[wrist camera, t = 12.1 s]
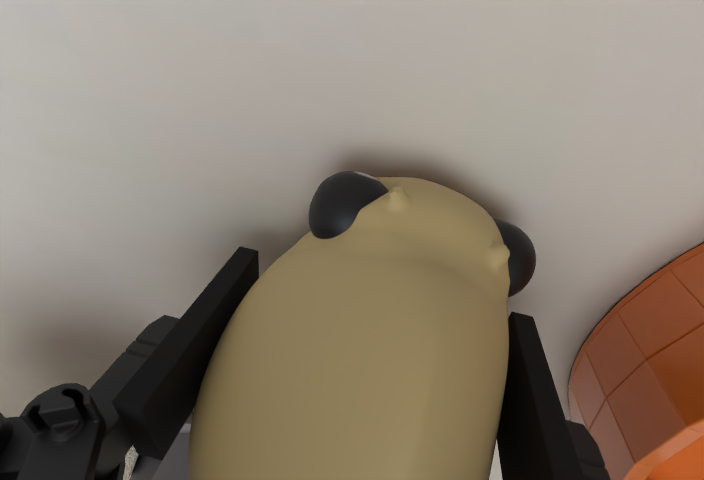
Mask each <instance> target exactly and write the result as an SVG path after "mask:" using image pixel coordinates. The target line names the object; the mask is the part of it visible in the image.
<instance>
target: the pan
mask: <svg viewBox="0 0 704 480" xmlns="http://www.w3.org/2000/svg"><path fill="white" fill-rule="evenodd" d="M568 402H569V406H570V414H571V417H572V420H573V422H576V423H580V424H583V425H584V426H585V427H586V428H587V430H588V431H589V433H590V434H591V436H592V437H593V438H594V440H595V441H596V443H597V444H598V447H599V449H600V452H601V455H602V457H603V460H604V463H605V469H607V471H608V474H609V476H610V479H611V480H704V243H703V244H701V245H699V246H698V247H696V248H694V249H692V250H690V251H689V252H687V253H685V254H683V255H682V256H680V257H679V258H677V259H676V260H674V261H673V262H671V263H670V264H668V265H667V266H665V267H664V268H662V269H661V270H659V271H658V272H656V273H655V274H653V275H652V276H650V277H649V278H647V279H646V280H645V281H644V282H642V283H641V284H640V285H639V286H638V287H636V288H635V289H634V290H633V291H632V292H630V293H629V294H628V295H627V296H626V297H624V298H623V299H622V300H621V301H620V302H618V303H617V304H616V305H615V306H614V307H613V309H612V310H611V311H610V312H609V313H608V314H607V315H606V316H605V317H604V318H603V319H602V320H601V321H600V322H599V323H598V324H597V326H596V327H595V328H594V330H593V331H592V333H591V334H590V335H589V337H588V338H587V340H586V341H585V343H584V344H583V345H582V347H581V349H580V351H579V354H578V356H577V358H576V360H575V362H574V364H573V367H572V371H571V375H570V380H569V384H568Z"/></svg>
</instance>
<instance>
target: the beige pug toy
mask: <svg viewBox="0 0 704 480" xmlns="http://www.w3.org/2000/svg"><path fill="white" fill-rule="evenodd" d="M309 224H310V229H311V231H309V232H308V233H307V234H306V235H304V236H303V237H302V238H301V239H300V240H299V241H298V242H297V243H296V244H295V245H294V246H293V247H292V248H290V249H289V250H288V251H287V252H286V253H284V254H283V255H282V256H281V257H279V258H278V259H277V260H276V261H275V262H274V263H273V264H272V265H271V266H269V267H268V269H267V270H266V271H265V272H264V273H263V274H262V275H261V276H260V277H259V278H258V280H257V281H256V282H255V283H254V285H253V286H252V287H251V288H250V290H249V291H248V293H247V294H246V295H245V297H244V298H243V300H242V301H241V303H240V304H239V306H238V307H237V309H236V310H235V312H234V314H233V315H232V317H231V319H230V320H229V322H228V324H227V326H226V328H225V329H224V331H223V333H222V335H221V337H220V339H219V341H218V343H217V346H216V348H215V350H214V352H213V354H212V357H211V359H210V362H209V364H208V367H207V369H206V372H205V375H204V377H203V380H202V383H201V387H200V390H199V393H198V397H197V400H196V404H195V408H194V413H193V417H192V423H191V429H190V436H189V446H188V475H189V480H489V476H490V471H491V466H492V460H493V455H494V449H495V444H496V439H497V433H498V427H499V422H500V416H501V410H502V404H503V397H504V391H505V384H506V376H507V367H508V354H509V331H508V310H507V299H508V297H510V296H513V295H515V294H517V293H518V292H520V291H521V290H522V289H523V288H524V287H525V286H526V285H527V284H528V282H529V281H530V279H531V277H532V275H533V273H534V270H535V265H536V254H535V250H534V246H533V244H532V242H531V240H530V239H529V237H528V236H527V235H526V234H525V233H524V232H523V231H522V230H521V229H519V228H518V227H516V226H514V225H513V224H510V223H508V222H505V221H500V220H493V219H492V217H491V216H490V215H489V214H488V212H487V211H486V210H485V209H483V208H482V207H481V206H480V205H478V204H477V203H476V202H474V201H473V200H471V199H469V198H468V197H466V196H464V195H462V194H460V193H458V192H456V191H454V190H452V189H450V188H447V187H445V186H442V185H440V184H437V183H434V182H431V181H427V180H424V179H419V178H412V177H372V176H370V175H368V174H365V173H361V172H355V171H347V172H341V173H338V174H335V175H333V176H331V177H329V178H327V179H326V180H324V181H323V182H322V183H321V184H320V186H319V187H318V189H317V191H316V193H315V195H314V197H313V199H312V202H311V205H310V210H309Z"/></svg>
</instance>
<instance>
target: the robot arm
mask: <svg viewBox="0 0 704 480" xmlns="http://www.w3.org/2000/svg"><path fill="white" fill-rule="evenodd" d="M258 278H259V265H258V251H257V250H253V249H248V248H244V247H239V248H238V249H237V251H236V252H235V253H234V254H233V255H232V257H231V258H230V259H229V260H228V261H227V263H226V264H225V265H224V266H223V268H222V269H221V270H220V271H219V272H218V274H217V275H216V276H215V277H214V278H213V280H212V281H211V282H210V283H209V284H208V286H207V287H206V288H205V289H204V291H203V292H202V293H201V294H200V295H199V297H198V298H197V299H196V300H195V301H194V303H193V304H192V305H191V306H190V308H189V309H188V310H187V311H186V312H185V314H184V315H183V316H182V317H181V318H180V319H178V318H174V317H170V316H167V315H164V316H162V317H160V318H159V319H157V320H156V321H154V322H152V323H151V324H149V325H148V326H147V327H146V328H145V329H144V330H143V331H142V332H141V334H140V335H139V336H138V337H137V338H136V341H133V342H132V343H131V345H130V346H129V347H128V348H127V349H126V352H123V353H122V354H121V356H120V357H119V358H118V359H117V360H116V361H115V362H114V363H113V364H112V365H111V367H110V368H109V369H108V370H107V371H106V372H105V373H104V374H103V375H102V376H101V378H100V379H99V380H98V381H97V382H96V383H95V384H94V385H93V386H92V387H91V389H90V390H89V391H88V390H87V388H86V387H85V386H82V385H79V384H77V383H74V384H62V385H59V386H56V387H53V388H50V389H49V390H47V391H45V392H43V393H41V394H40V395H38V396H37V397H36V398H35V399H34V400H32V401H31V402H30V403H29V404H28V405H27V406H26V408H25V409H24V411H23V412H22V414H21V415H20V417H10V418H5V417H4V416H3V415H2V414H1V413H0V480H123V475H124V469H125V455H126V454H127V452H128V451H129V449H130V448H131V446H132V445H133V446H134V448H135V450H136V452H137V453H138V454H137V456H136V458H135V460H134V463H133V465H132V468H131V471H130V474H131V473H132V474H131V477H130V480H189V475H188V446H189V436H190V429H191V423H192V417H193V413H194V412H192V411H193V409H194V407H195V404H196V400H197V397H198V393H199V390H200V387H201V383H202V380H203V377H204V375H205V372H206V369H207V367H208V364H209V362H210V359H211V357H212V354H213V352H214V350H215V348H216V346H217V343H218V341H219V339H220V337H221V335H222V333H223V331H224V329H225V328H226V326H227V324H228V322H229V320H230V319H231V317H232V315H233V314H234V312H235V310H236V309H237V307H238V306H239V304H240V303H241V301H242V300H243V298H244V297H245V295H246V294H247V293H248V291H249V290H250V288H251V287H252V286H253V285H254V283H255V282H256V281H257V280H258ZM508 331H509V354H508V367H507V376H506V384H505V391H504V397H503V404H502V410H501V416H500V422H499V427H498V433H497V443H498V450H499V457H500V464H501V471H502V478H503V480H611V479H610V476H609V474H608V471H607V469H605V463H604V460H603V457H602V455H601V452H600V449H599V447H598V444H597V443H596V441H595V440H594V438H593V437H592V436H591V434H590V433H589V431H588V430H587V428H586V427H585V426H584V425H583V424H580V423H576V422H572V421H568V420H565V416H564V413H563V410H562V407H561V404H560V401H559V397H558V394H557V391H556V388H555V385H554V382H553V379H552V375H551V372H550V369H549V366H548V363H547V360H546V357H545V353H544V350H543V347H542V344H541V341H540V338H539V334H538V331H537V328H536V325H535V322H534V319H533V317H531V316H527V315H523V314H519V313H515V312H512V313H511V314H510V316H509V318H508ZM130 474H129V476H130ZM128 478H129V477H128Z"/></svg>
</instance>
